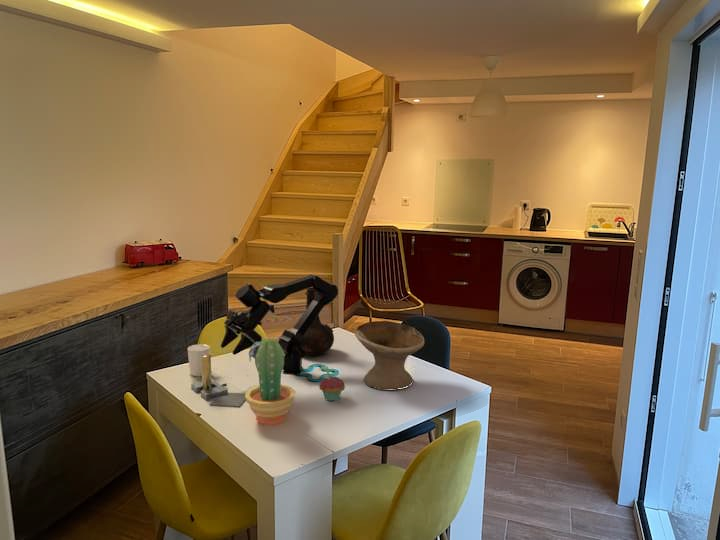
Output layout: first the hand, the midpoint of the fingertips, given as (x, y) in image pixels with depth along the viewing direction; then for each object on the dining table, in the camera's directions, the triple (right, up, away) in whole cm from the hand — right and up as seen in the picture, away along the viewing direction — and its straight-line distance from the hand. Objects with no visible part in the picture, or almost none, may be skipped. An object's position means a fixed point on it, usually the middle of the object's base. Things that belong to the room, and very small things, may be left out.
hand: (227, 350), depth 183 cm
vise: (-5, -14, -1) cm, 14 cm away
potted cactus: (+19, -18, -21) cm, 33 cm away
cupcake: (+37, -15, -5) cm, 40 cm away
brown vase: (+26, -7, +41) cm, 49 cm away
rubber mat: (+3, -15, -9) cm, 18 cm away
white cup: (-14, -11, +15) cm, 23 cm away
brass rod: (-6, -14, -3) cm, 15 cm away
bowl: (+57, -13, +10) cm, 59 cm away
